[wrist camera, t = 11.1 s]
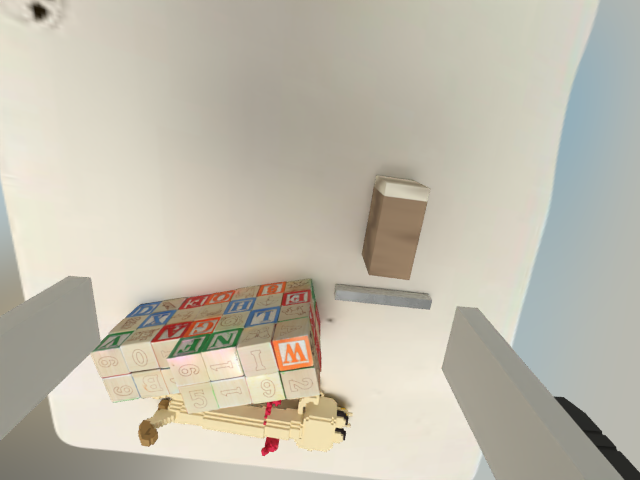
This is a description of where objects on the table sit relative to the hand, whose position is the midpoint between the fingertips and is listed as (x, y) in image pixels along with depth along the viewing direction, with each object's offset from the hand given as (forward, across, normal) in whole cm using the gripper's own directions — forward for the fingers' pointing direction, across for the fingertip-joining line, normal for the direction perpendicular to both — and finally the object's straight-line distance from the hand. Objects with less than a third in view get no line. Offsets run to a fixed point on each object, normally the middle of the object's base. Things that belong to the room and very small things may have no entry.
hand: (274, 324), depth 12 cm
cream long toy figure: (+25, -5, -28) cm, 38 cm away
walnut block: (+22, +9, -6) cm, 25 cm away
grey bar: (+25, +10, -11) cm, 29 cm away
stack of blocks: (+25, -8, -15) cm, 31 cm away
